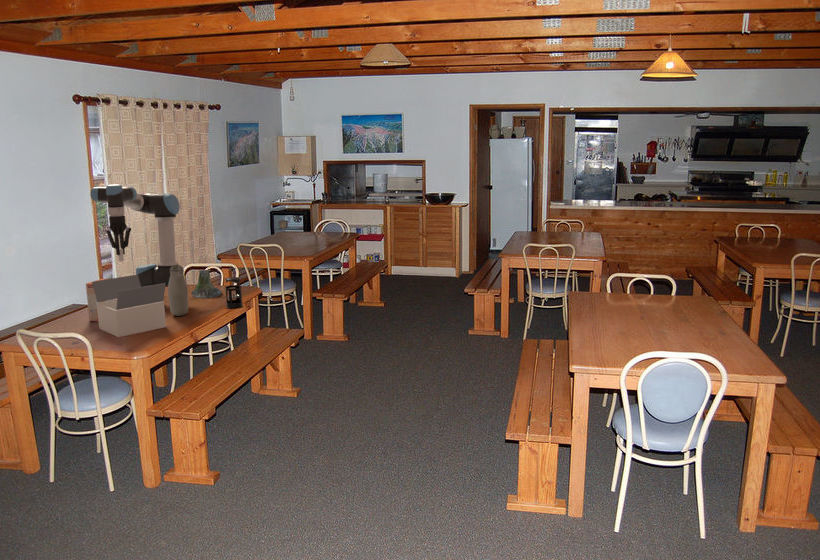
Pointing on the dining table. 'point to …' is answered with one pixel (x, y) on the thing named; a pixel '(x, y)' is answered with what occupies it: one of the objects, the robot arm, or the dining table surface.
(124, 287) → the flap
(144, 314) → the carton
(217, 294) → the tree stump
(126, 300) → the flap
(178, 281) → the grey bottle
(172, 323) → the dining table surface
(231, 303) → the black lantern
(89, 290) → the cracker box
